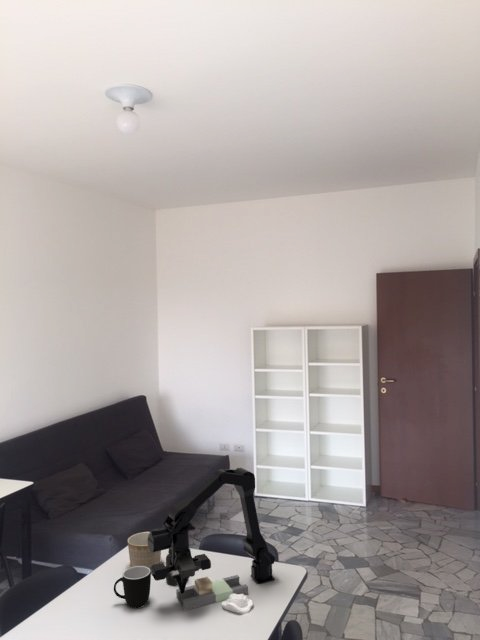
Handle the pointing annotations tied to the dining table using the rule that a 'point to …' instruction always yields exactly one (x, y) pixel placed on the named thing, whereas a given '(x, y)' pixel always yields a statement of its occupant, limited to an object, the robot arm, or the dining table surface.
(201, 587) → the birch block
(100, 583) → the dining table surface
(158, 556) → the planter
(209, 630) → the dining table surface
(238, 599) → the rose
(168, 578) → the supplement bottle
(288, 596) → the dining table surface
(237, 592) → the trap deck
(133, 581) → the mug
